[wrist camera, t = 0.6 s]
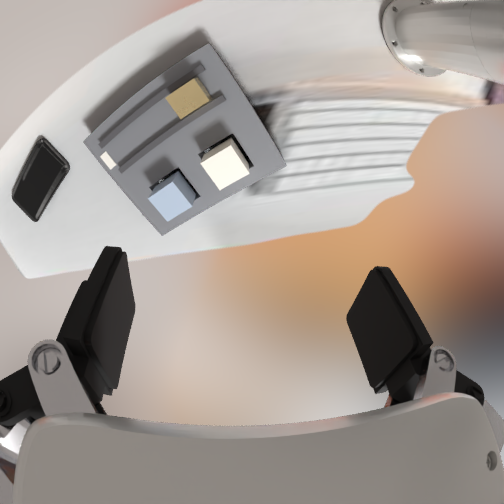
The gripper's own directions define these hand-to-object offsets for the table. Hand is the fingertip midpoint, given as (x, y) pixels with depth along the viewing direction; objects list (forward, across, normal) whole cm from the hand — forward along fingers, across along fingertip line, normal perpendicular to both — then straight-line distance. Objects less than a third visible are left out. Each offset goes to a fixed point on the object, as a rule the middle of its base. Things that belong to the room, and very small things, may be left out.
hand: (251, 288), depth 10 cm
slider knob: (+25, +5, -4) cm, 26 cm away
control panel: (+28, +6, +2) cm, 29 cm away
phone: (+30, +32, +9) cm, 45 cm away
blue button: (+26, +7, +8) cm, 28 cm away
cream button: (+26, +1, +3) cm, 26 cm away
